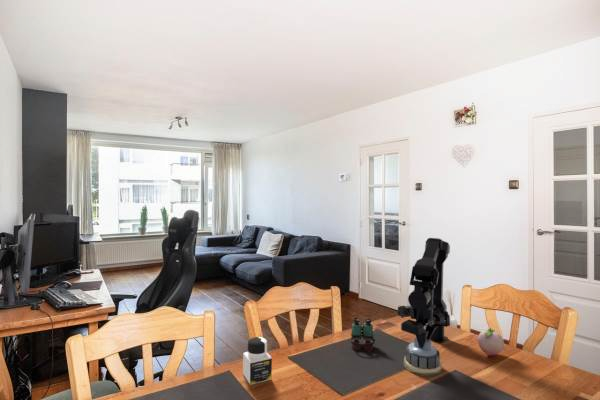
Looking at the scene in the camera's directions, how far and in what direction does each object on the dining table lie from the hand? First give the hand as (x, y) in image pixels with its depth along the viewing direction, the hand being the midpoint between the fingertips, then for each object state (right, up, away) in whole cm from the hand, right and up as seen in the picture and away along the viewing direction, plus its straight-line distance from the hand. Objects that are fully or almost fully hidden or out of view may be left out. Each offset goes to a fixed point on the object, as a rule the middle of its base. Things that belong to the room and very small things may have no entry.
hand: (422, 346), depth 118 cm
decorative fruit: (+28, -7, +9) cm, 30 cm away
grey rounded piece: (0, -4, 0) cm, 4 cm away
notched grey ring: (0, -7, 0) cm, 7 cm away
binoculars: (-18, -7, +14) cm, 24 cm away
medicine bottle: (-55, -7, -8) cm, 56 cm away
